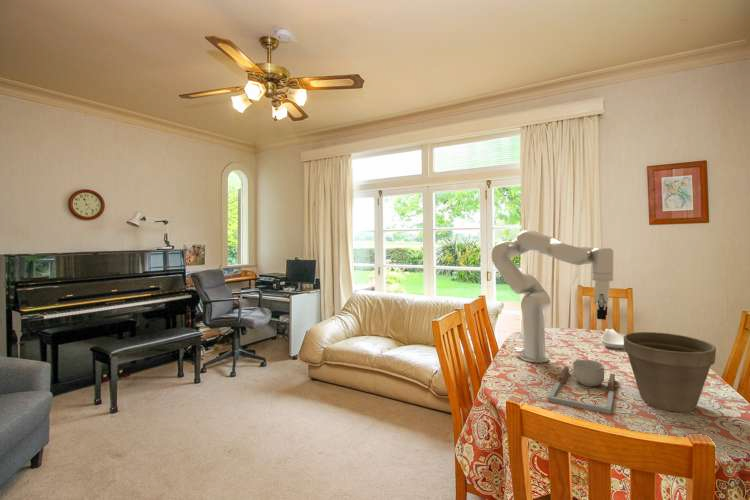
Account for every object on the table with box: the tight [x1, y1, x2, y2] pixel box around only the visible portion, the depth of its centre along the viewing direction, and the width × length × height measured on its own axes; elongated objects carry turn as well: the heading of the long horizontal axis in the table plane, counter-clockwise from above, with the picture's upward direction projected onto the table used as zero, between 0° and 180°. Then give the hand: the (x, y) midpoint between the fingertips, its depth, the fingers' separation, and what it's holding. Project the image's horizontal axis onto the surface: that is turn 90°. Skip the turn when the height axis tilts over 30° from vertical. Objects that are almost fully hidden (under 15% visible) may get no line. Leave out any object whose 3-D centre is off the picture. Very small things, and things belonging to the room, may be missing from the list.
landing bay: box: [547, 381, 615, 415], centre depth 133 cm, size 19×17×2 cm
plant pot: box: [623, 331, 717, 413], centre depth 127 cm, size 25×25×22 cm
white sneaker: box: [600, 328, 624, 350], centre depth 199 cm, size 24×12×7 cm, turn 158°
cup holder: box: [558, 366, 616, 393], centre depth 148 cm, size 18×15×2 cm
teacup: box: [572, 358, 605, 387], centre depth 148 cm, size 14×11×8 cm
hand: (602, 317), depth 158 cm, fingers open, 9 cm apart
